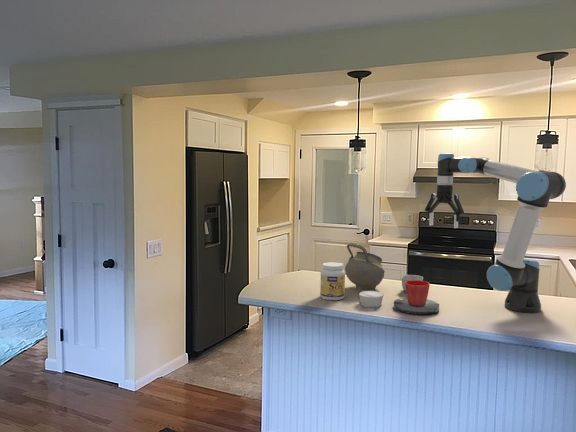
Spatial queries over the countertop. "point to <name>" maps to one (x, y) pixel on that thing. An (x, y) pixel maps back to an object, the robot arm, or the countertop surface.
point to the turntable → (416, 307)
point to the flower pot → (417, 292)
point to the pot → (364, 269)
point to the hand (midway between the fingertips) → (443, 226)
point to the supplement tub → (332, 281)
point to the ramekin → (371, 298)
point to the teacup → (410, 277)
